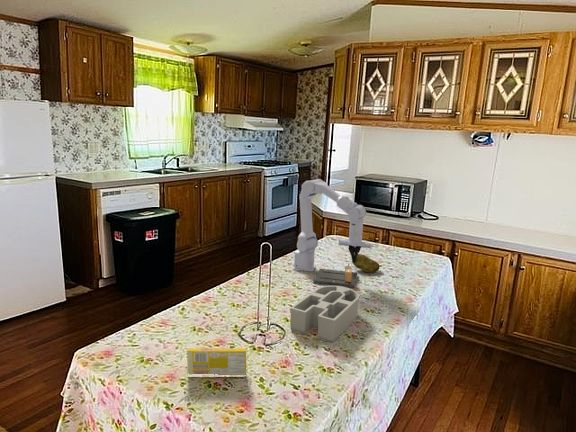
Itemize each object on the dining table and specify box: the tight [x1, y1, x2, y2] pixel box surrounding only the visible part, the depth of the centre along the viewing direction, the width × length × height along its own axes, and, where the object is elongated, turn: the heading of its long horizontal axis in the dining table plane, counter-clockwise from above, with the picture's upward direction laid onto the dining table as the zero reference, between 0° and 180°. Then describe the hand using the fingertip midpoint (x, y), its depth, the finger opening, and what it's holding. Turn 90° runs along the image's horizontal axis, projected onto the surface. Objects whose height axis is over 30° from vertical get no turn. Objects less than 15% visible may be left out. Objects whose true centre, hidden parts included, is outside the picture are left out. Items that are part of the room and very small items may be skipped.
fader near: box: [345, 269, 353, 282], centre depth 185 cm, size 2×4×5 cm, turn 165°
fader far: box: [344, 263, 353, 274], centre depth 192 cm, size 2×4×5 cm, turn 165°
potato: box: [352, 253, 380, 273], centre depth 202 cm, size 8×13×8 cm, turn 61°
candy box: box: [186, 347, 247, 376], centre depth 115 cm, size 16×2×8 cm, turn 92°
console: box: [312, 268, 358, 289], centre depth 191 cm, size 18×16×2 cm
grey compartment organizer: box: [289, 285, 360, 344], centre depth 149 cm, size 17×28×9 cm, turn 149°
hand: (353, 262), depth 186 cm, fingers closed
